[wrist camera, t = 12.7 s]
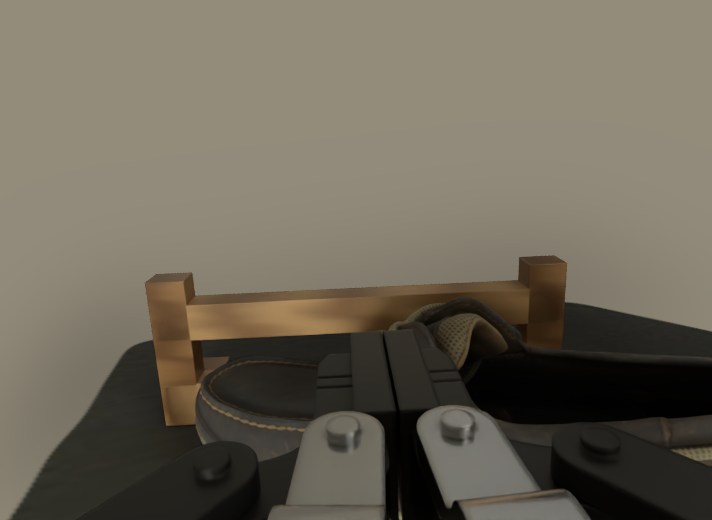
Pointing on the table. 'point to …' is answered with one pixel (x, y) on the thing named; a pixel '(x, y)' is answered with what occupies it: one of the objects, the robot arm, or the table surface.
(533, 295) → the wooden display stand
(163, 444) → the table surface
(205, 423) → the boat shoe
